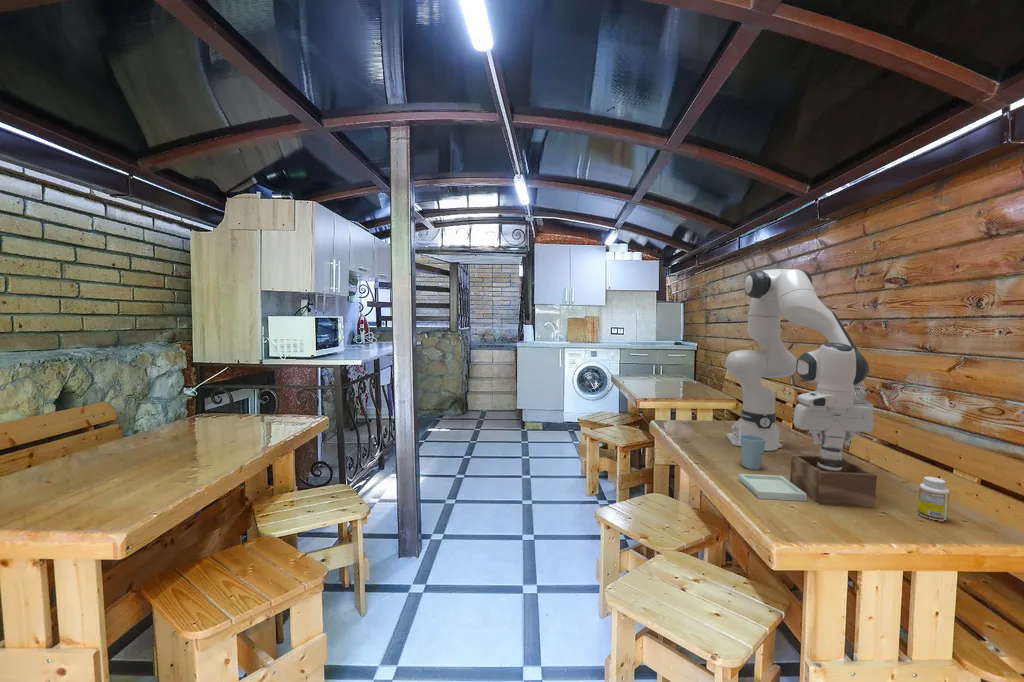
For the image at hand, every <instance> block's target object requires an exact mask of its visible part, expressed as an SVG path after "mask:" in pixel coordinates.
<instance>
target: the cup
mask: <svg viewBox="0 0 1024 682" xmlns="http://www.w3.org/2000/svg"><path fill="white" fill-rule="evenodd" d="M740 440H741V446H740V450H741V451H740V452H741V463H742V467H743V466H744V467H743V468H745V467H746V469H748V468H749V470H753V469H757V470H758V469H759V470H761V468H762V463H763V457H764V452H765V451H764V446H765V441H766V439H765V438H763V437H760V436H755V435H741V436H740Z"/></svg>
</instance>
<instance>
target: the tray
mask: <svg viewBox="0 0 1024 682" xmlns="http://www.w3.org/2000/svg"><path fill="white" fill-rule="evenodd" d="M737 480H738V481H739V482H740V483H741V484H742V483H743V484H744V485H745V486H746V487H747V490H748V491H750V492H751V493H752V494H753V495H754V496H755V497H756V498H757V499H760V500H761V499H762V500H763V499H764V500H777V499H778V500H779V501H780V500H781V501H798V502H799V501H800V502H807V500H808V496H807V494H806V493H805V492H803V491H802V490H800V489H799V488H798V487H796V486H795V485H794V484H792V483H791V482H790V480H788V479H787V478H785V477H784V476H783V475H775V474H774V475H772V474H769V475H768V474H756V473H755V474H754V473H752V474H751V473H750V474H749V473H738V476H737ZM743 484H742V485H743ZM744 485H743V486H744ZM745 486H744V487H745ZM746 487H745V488H746Z"/></svg>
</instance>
